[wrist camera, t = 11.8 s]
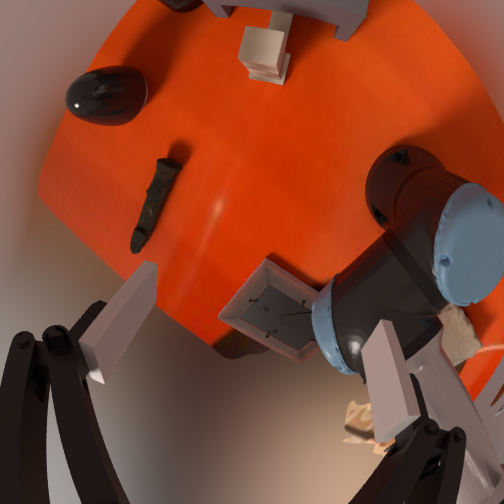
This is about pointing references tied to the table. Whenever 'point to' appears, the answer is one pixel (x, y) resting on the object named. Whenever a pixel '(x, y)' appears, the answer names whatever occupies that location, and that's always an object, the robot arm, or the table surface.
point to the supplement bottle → (182, 5)
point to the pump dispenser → (108, 95)
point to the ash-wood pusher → (267, 49)
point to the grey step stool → (305, 11)
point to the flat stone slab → (458, 334)
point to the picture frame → (275, 311)
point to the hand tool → (154, 202)
